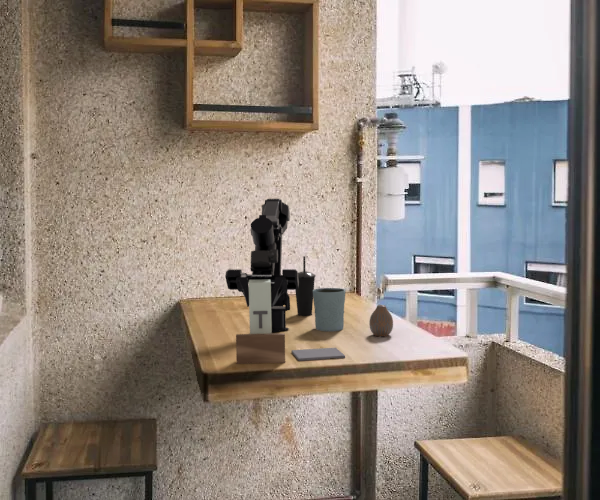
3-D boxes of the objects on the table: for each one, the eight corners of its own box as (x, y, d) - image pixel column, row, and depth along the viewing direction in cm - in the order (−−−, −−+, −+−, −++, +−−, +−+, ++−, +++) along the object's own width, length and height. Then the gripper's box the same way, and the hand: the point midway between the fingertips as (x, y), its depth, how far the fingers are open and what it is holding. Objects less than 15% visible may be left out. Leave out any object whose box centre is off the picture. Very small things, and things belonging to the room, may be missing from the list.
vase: (378, 338, 192) (378, 308, 191) (364, 334, 198) (364, 304, 197) (397, 336, 195) (398, 306, 194) (384, 331, 201) (384, 302, 201)
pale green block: (250, 329, 175) (249, 279, 174) (271, 328, 175) (270, 279, 174) (249, 334, 169) (248, 283, 168) (271, 333, 170) (270, 282, 168)
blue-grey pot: (322, 333, 200) (321, 293, 199) (307, 326, 209) (306, 288, 208) (351, 329, 205) (351, 290, 203) (335, 323, 214) (335, 286, 213)
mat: (335, 349, 179) (335, 347, 179) (345, 357, 170) (345, 355, 170) (291, 352, 177) (291, 350, 177) (298, 360, 168) (298, 358, 168)
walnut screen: (236, 362, 167) (236, 334, 167) (284, 360, 168) (284, 333, 167) (236, 363, 166) (236, 335, 165) (285, 362, 166) (284, 334, 166)
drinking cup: (290, 315, 228) (289, 257, 226) (298, 312, 235) (298, 255, 233) (311, 317, 225) (310, 257, 223) (319, 313, 232) (318, 255, 230)
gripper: (225, 238, 175) (218, 287, 165) (297, 238, 173) (294, 287, 164) (231, 265, 183) (225, 312, 173) (299, 265, 182) (297, 313, 172)
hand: (259, 306), depth 170 cm, fingers closed on pale green block, 6 cm apart
